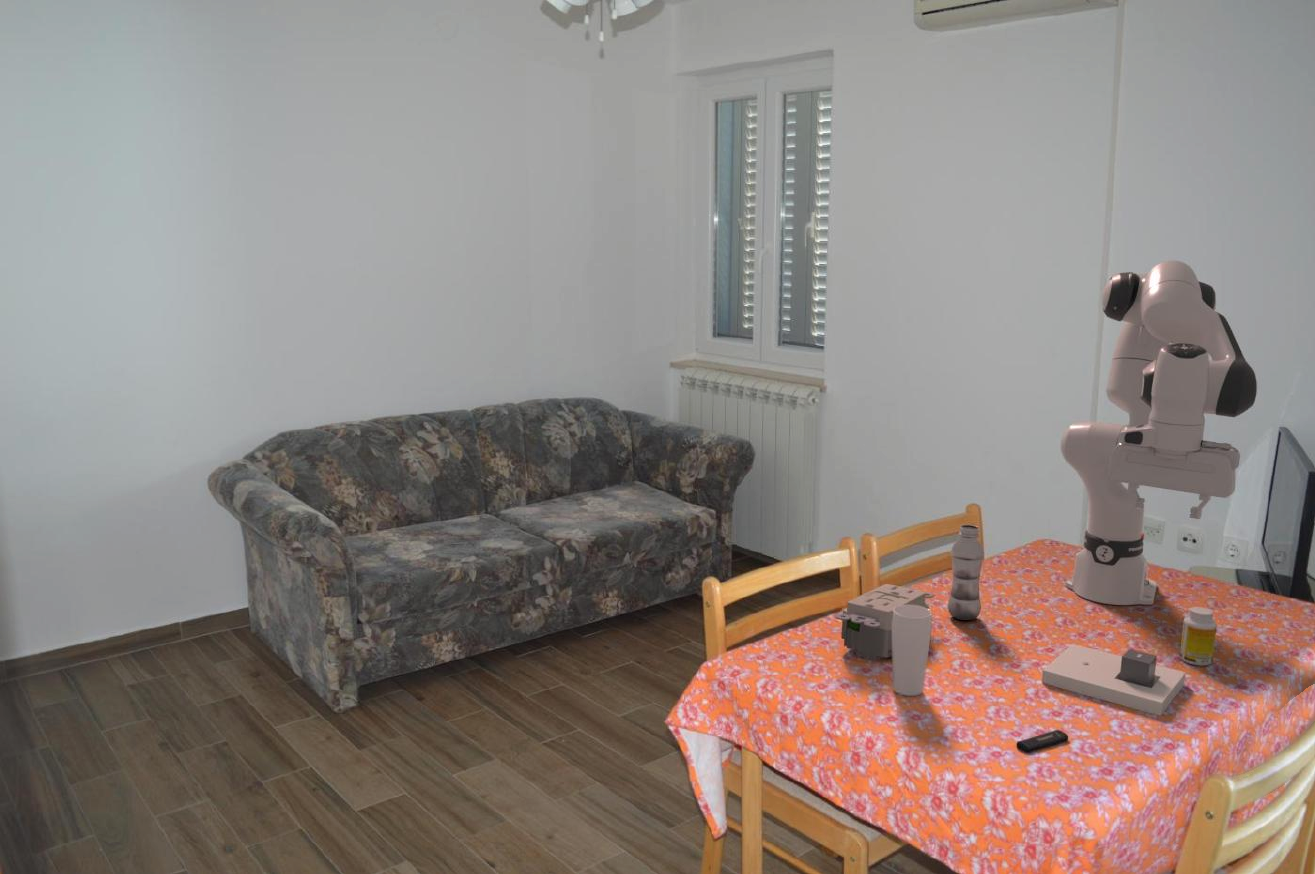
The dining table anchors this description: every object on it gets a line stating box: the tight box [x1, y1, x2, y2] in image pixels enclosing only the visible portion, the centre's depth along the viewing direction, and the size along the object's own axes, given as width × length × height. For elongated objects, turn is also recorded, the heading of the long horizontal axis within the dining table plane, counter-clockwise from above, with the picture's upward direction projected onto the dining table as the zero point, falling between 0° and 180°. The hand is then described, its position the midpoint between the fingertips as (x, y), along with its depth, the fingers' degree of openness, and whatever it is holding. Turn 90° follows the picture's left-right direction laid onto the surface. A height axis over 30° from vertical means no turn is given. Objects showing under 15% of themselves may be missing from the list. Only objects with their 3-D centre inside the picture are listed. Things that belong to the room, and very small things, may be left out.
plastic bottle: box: [947, 524, 985, 621], centre depth 214 cm, size 6×7×20 cm
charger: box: [1120, 648, 1158, 688], centre depth 181 cm, size 5×5×6 cm
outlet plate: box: [1041, 643, 1187, 717], centre depth 184 cm, size 16×20×2 cm
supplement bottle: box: [1179, 606, 1218, 667], centre depth 194 cm, size 6×6×10 cm
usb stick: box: [1016, 729, 1069, 754], centre depth 163 cm, size 10×3×2 cm, turn 116°
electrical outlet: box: [834, 583, 935, 661], centre depth 201 cm, size 12×28×10 cm, turn 143°
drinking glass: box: [891, 605, 933, 697], centre depth 180 cm, size 7×7×15 cm
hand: (1166, 513), depth 182 cm, fingers open, 8 cm apart
